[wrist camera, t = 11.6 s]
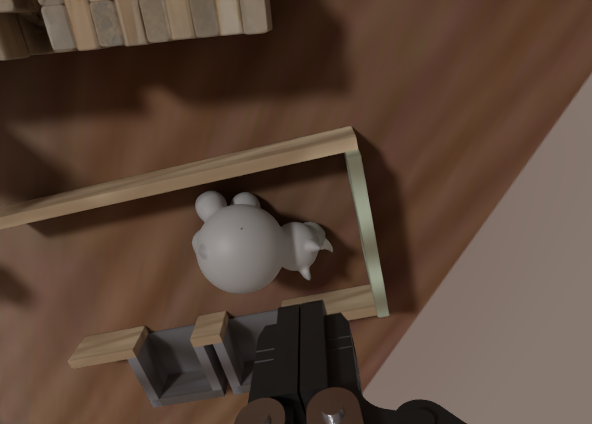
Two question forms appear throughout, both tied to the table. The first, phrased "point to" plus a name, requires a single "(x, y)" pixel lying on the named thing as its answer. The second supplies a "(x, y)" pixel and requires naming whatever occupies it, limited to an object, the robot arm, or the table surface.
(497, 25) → the table surface
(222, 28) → the block tower
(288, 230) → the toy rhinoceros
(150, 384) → the trap channel
